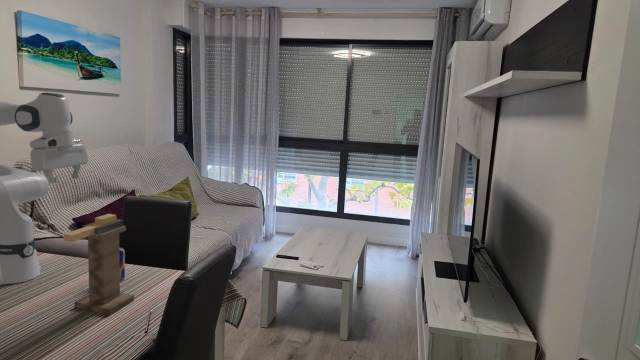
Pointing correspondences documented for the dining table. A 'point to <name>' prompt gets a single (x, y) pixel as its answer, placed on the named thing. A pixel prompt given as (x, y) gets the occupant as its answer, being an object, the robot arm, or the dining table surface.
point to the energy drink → (122, 263)
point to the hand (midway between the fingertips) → (64, 180)
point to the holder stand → (104, 271)
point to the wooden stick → (89, 228)
